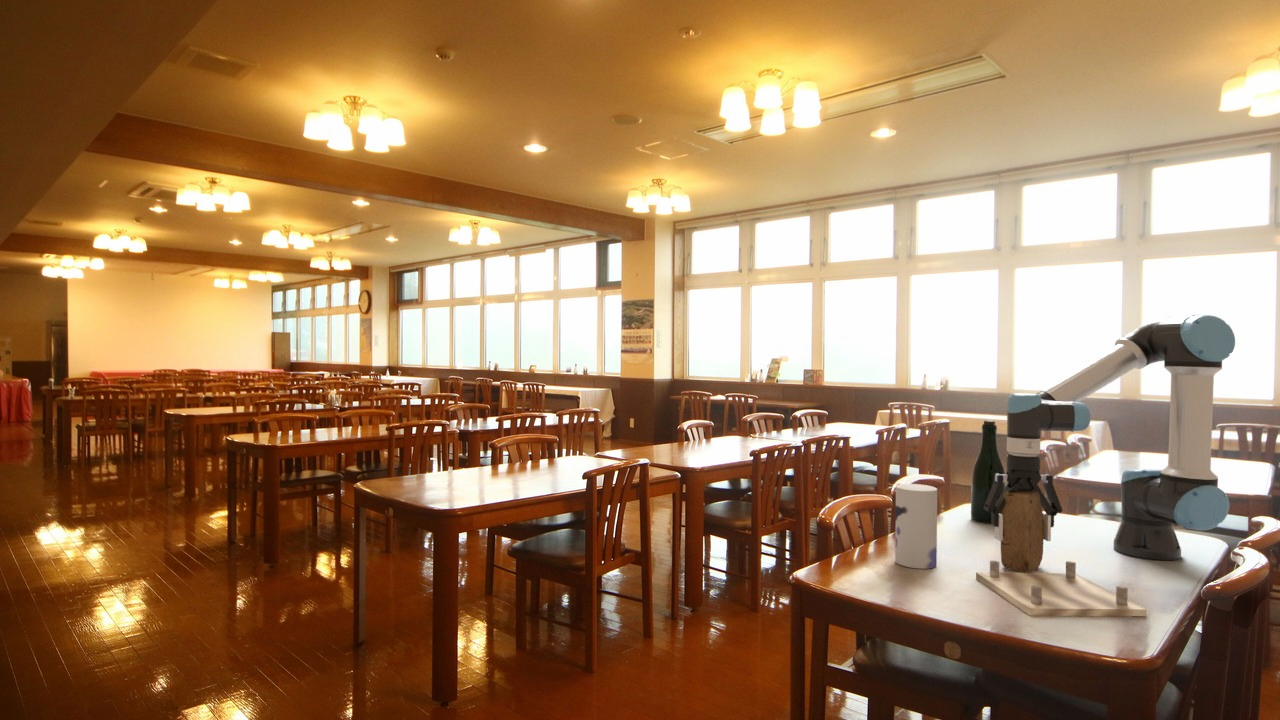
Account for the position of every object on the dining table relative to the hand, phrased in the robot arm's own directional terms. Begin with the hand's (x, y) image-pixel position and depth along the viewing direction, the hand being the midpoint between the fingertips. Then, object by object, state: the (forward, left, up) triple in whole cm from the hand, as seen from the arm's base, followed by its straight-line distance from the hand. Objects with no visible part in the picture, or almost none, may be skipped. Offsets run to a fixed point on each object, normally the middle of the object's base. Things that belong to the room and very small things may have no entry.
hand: (1022, 539), depth 179 cm
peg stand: (+4, +21, -7) cm, 23 cm away
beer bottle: (-16, -51, -7) cm, 54 cm away
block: (0, 0, -7) cm, 7 cm away
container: (+26, -3, -7) cm, 27 cm away
